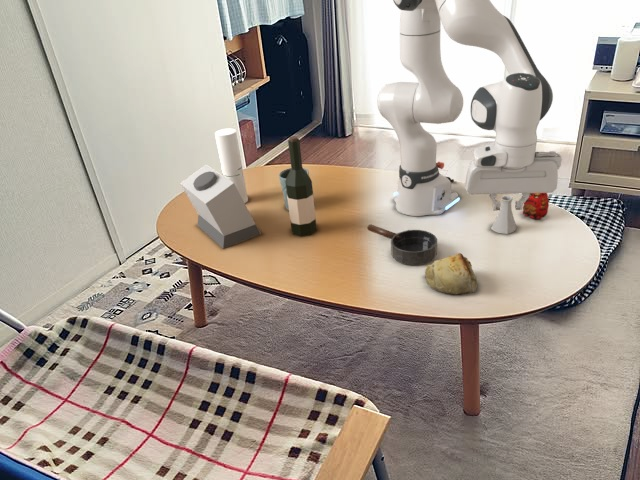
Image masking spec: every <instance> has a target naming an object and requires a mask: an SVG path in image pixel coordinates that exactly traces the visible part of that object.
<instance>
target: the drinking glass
mask: <svg viewBox="0 0 640 480" xmlns="http://www.w3.org/2000/svg"><path fill="white" fill-rule="evenodd" d="M303 169H304V170H305V171H306V173H307V174H308V175H309V176H310V172H309V170H308V169H307V168H305V167H303ZM290 170H291V167H289V168H286V169H284V170H282V171H280V173H278V179H279V181H280V187H281V191H282V195H283V199H284V206H285V209H286V210H287V211H289V207H288V199H287V192H286V184H285V180H286V178H287V176H288V174H289V172H290Z"/></svg>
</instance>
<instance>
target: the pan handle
mask: <svg viewBox="0 0 640 480" xmlns="http://www.w3.org/2000/svg"><path fill="white" fill-rule="evenodd" d="M366 229H367V231H369V232H372V233H374V234H377V235H379V236H382V237H385V238H387V239H390V240H391V239H392V237H393V236H394V235H396V234H397V232H393V231H391V230H388V229H385V228H382V227H379V226H377V225H375V224H372V223H371V224H368V225H367V226H366ZM399 238H400V236H399V235H397V236H396V241H397V240H399Z"/></svg>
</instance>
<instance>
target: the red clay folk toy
mask: <svg viewBox="0 0 640 480" xmlns="http://www.w3.org/2000/svg"><path fill="white" fill-rule="evenodd" d="M549 203H550V200H549V193H530V194H529V198H528V199H527V200H526V201H525V203H524V204H523V208H522V214H523V216H524V217H526V218H530V220H531V219H532V220H536V221H539V220H542V219H543V218H545V217H546V216H547V214H548V211H549V206H550V204H549Z"/></svg>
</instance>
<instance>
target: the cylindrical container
mask: <svg viewBox="0 0 640 480" xmlns="http://www.w3.org/2000/svg"><path fill="white" fill-rule="evenodd" d="M214 137H215V143H216V147H217V153H218V157H219V162H220V167H221V174H222V175H223V176H225V177H226V178H227V179H229V180H230V181H232V182H233V183H234V184H235V186H236V188H237V190H238V192H239V194H240V195H241V197H242V199H243V201H244V203H245V204H246V203H248V202H249V197H248V192H247V187H246V180H245V175H244V169H243V163H242V157H241V152H240V147H239V140H238V135H237V129H235V128H233V127H231V128H230V127H227V128H226V127H225V128H221V129H218V130H216V131H214Z"/></svg>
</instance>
